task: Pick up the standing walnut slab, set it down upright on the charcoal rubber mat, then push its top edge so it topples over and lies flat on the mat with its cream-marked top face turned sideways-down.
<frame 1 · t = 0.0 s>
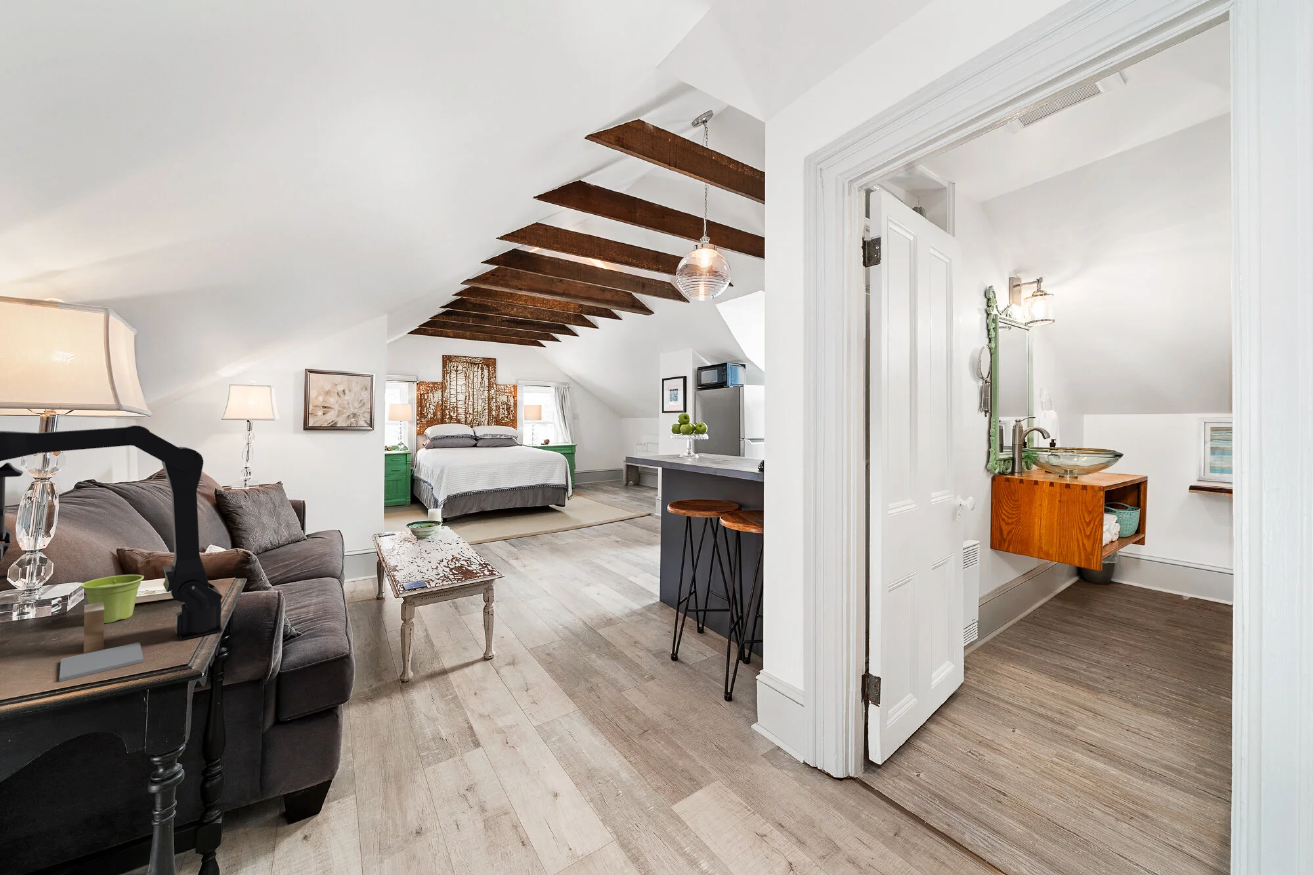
mat: (102, 661, 91), on the table
plant pot: (112, 619, 110), on the table
slab: (93, 646, 97), on the table
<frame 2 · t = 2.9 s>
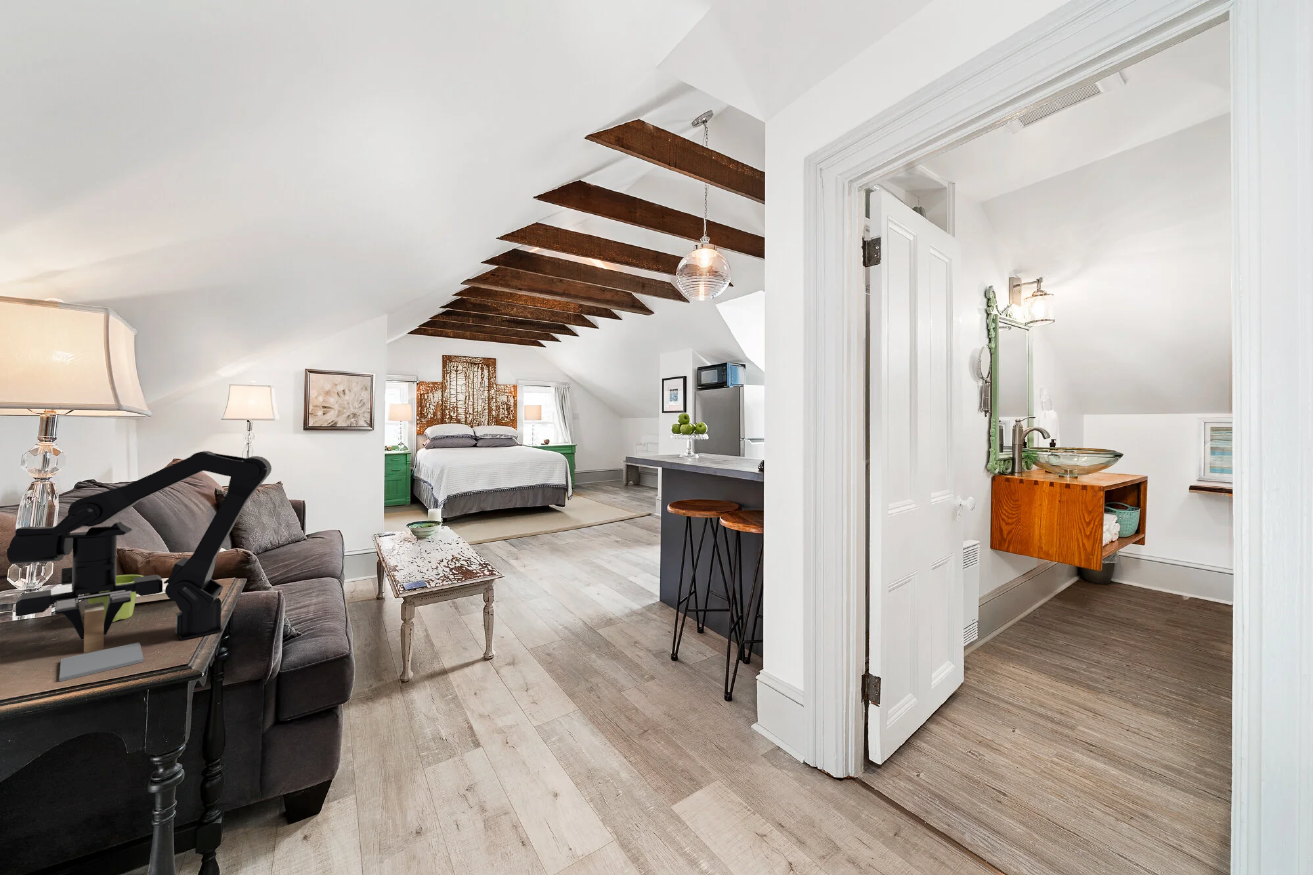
hand: (93, 636, 97), 2 cm above the table, fingers closed on slab, 2 cm apart
slab: (93, 646, 97), on the table, touching gripper
everything else where it was.
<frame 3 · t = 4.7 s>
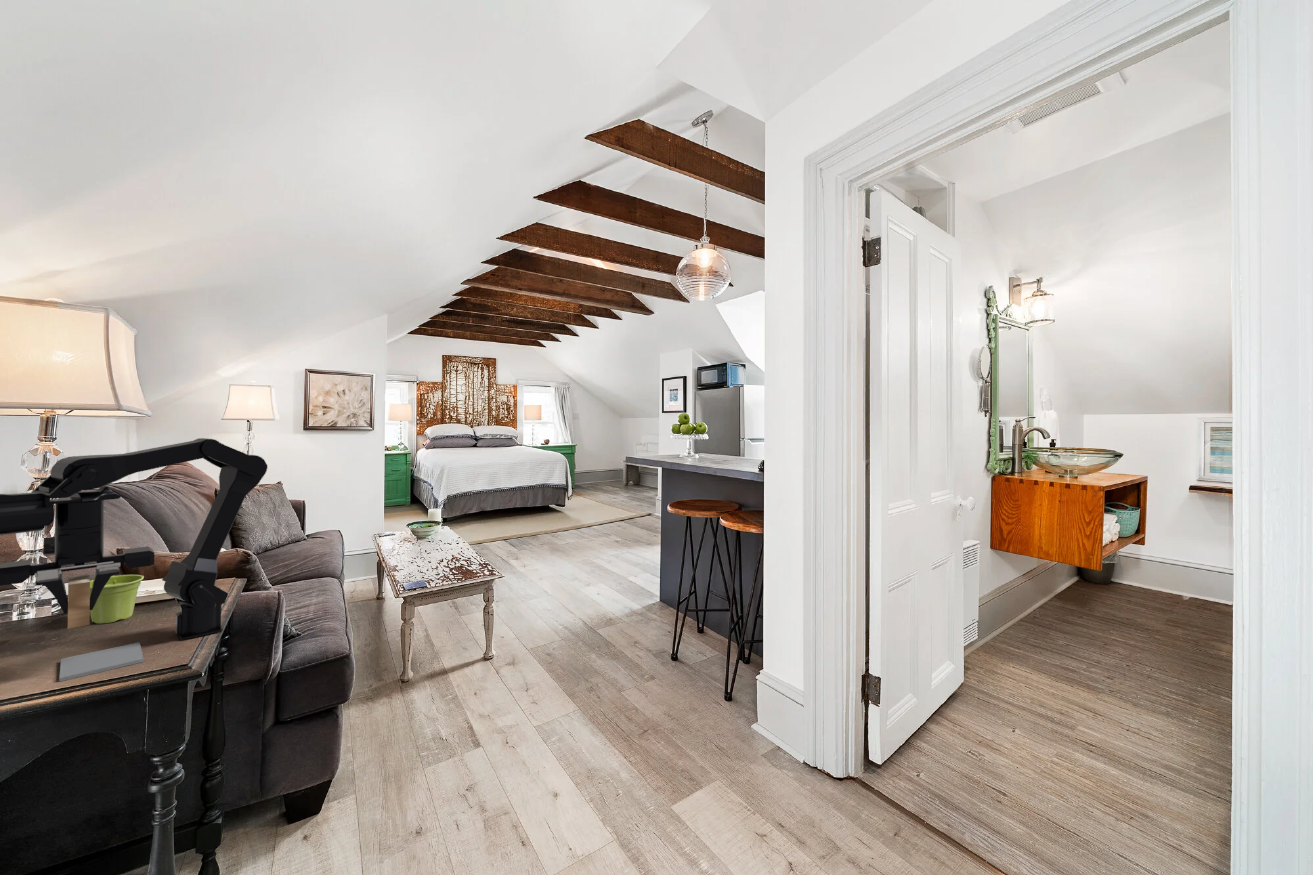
hand: (78, 611, 89), 10 cm above the table, fingers closed on slab, 2 cm apart
slab: (78, 622, 89), point 8 cm above the table, touching gripper
everything else where it was.
when the fingers open (3 cm above the table, at t = 6.5 s): slab stays where it is, resting on mat.
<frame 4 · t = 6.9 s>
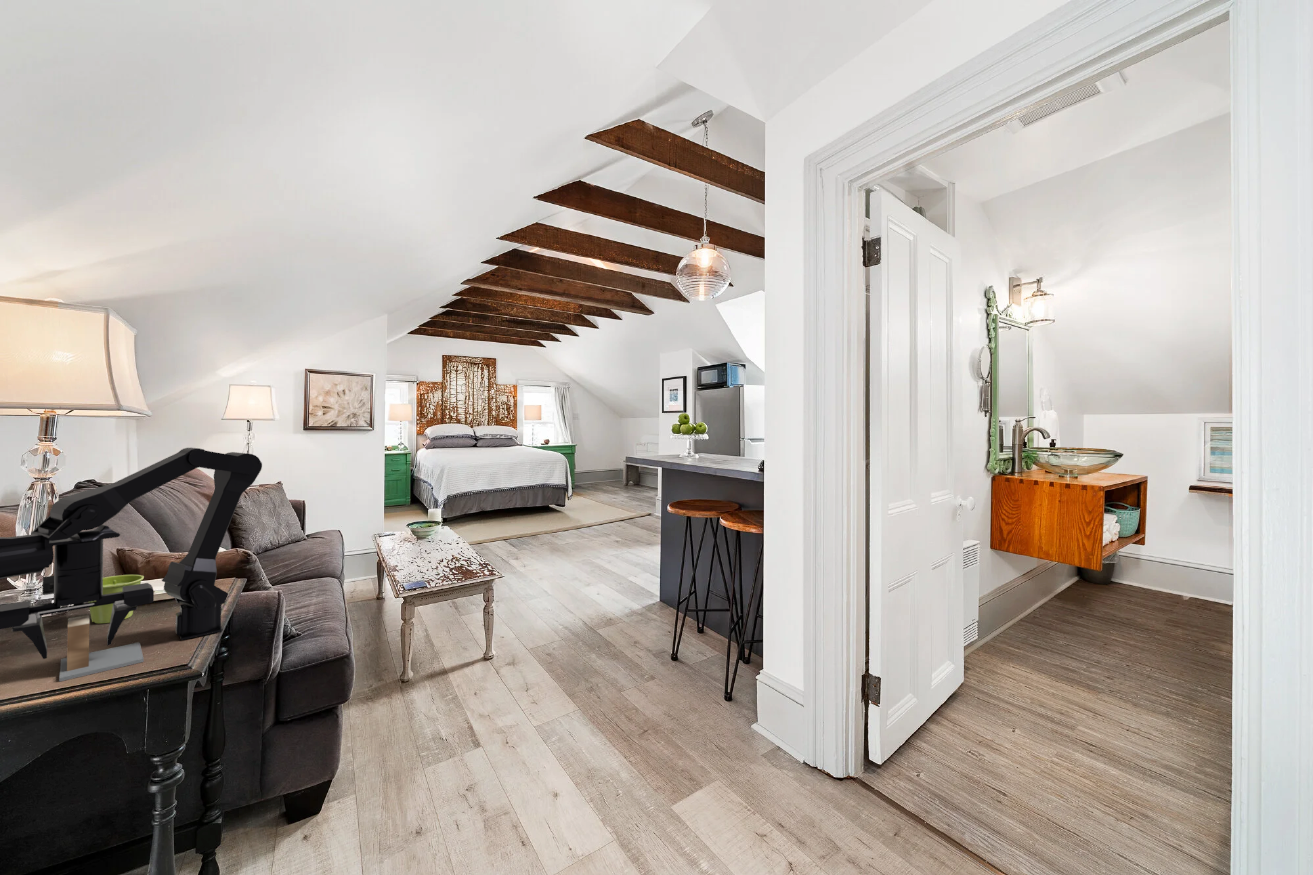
hand: (78, 651, 89), 3 cm above the table, fingers open, 7 cm apart
slab: (78, 664, 89), point 1 cm above the table, touching mat
everything else where it was.
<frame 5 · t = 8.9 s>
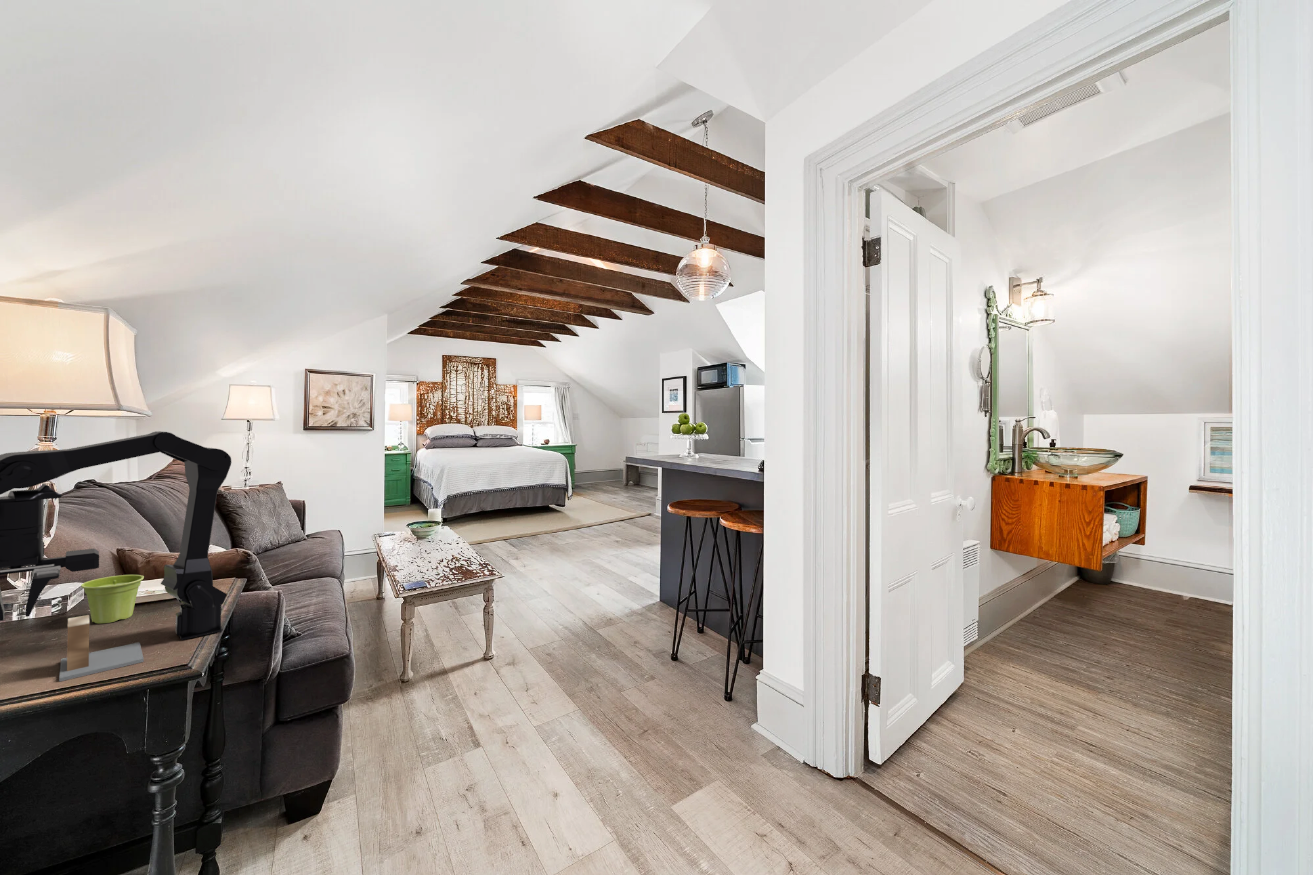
hand: (14, 617, 83), 11 cm above the table, fingers closed
nothing on the table moved.
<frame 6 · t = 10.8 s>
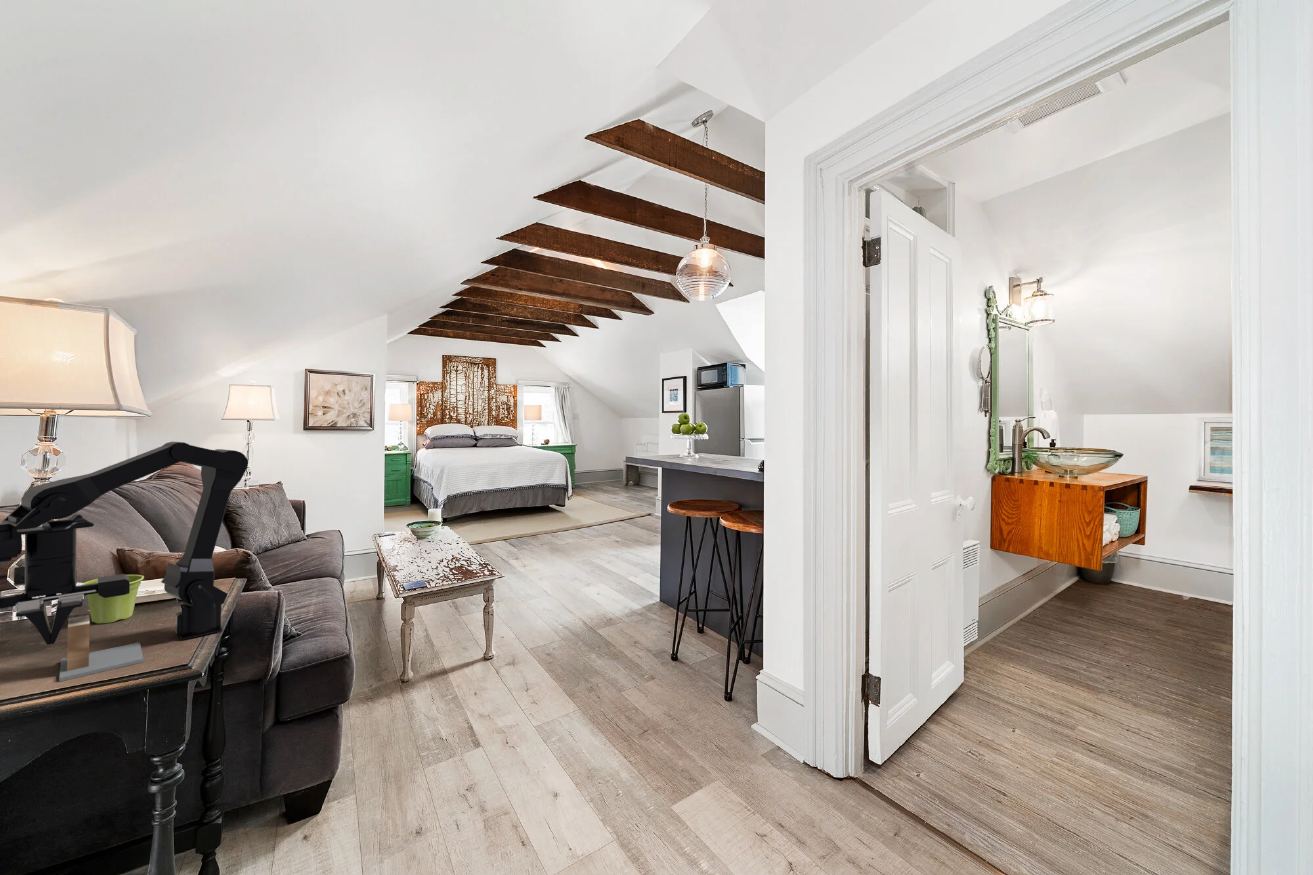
hand: (50, 643, 86), 5 cm above the table, fingers closed
slab: (78, 664, 89), point 1 cm above the table, touching gripper, mat
everything else where it was.
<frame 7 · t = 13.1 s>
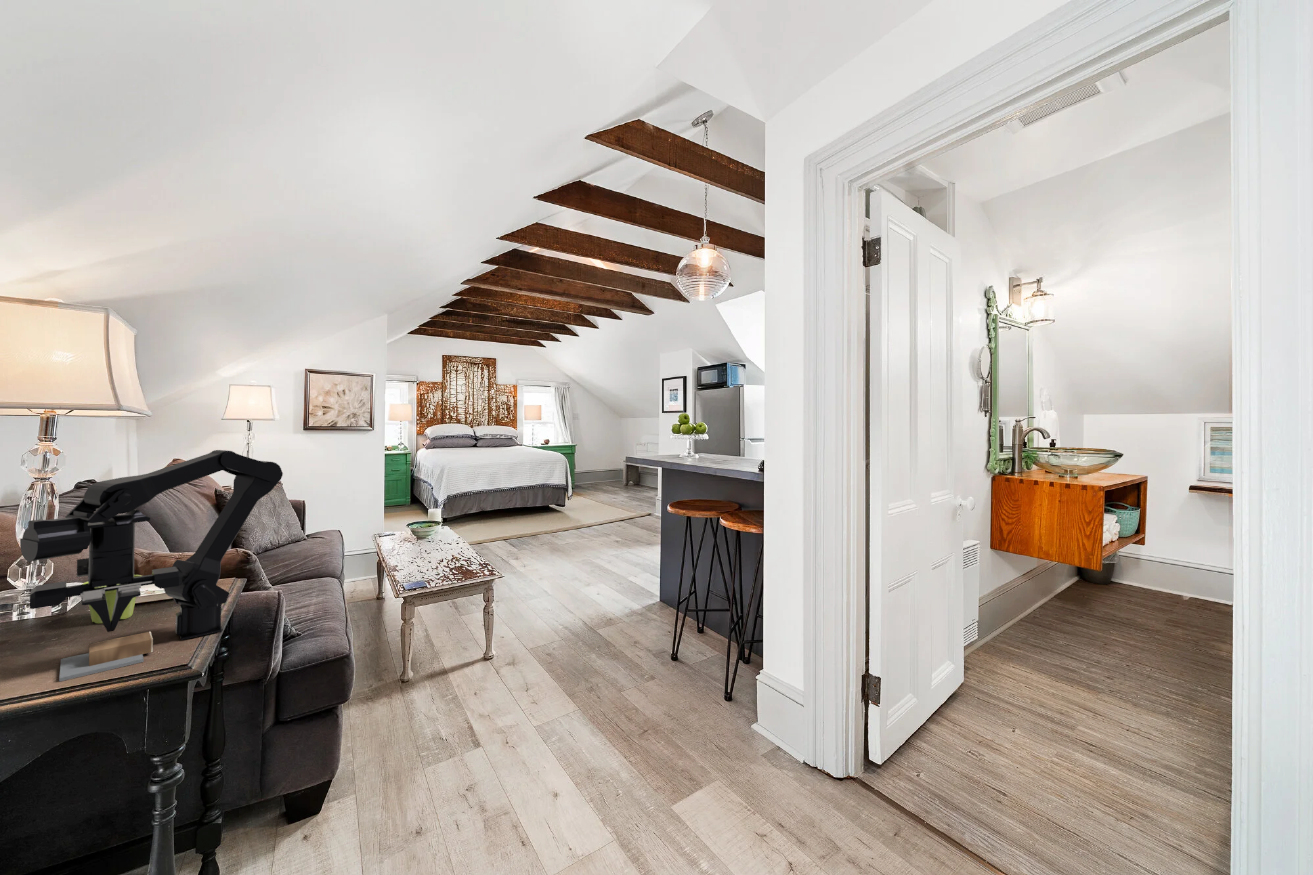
hand: (110, 631, 92), 6 cm above the table, fingers closed
slab: (89, 654, 90), point 2 cm above the table, tilted 90°, touching mat
everything else where it was.
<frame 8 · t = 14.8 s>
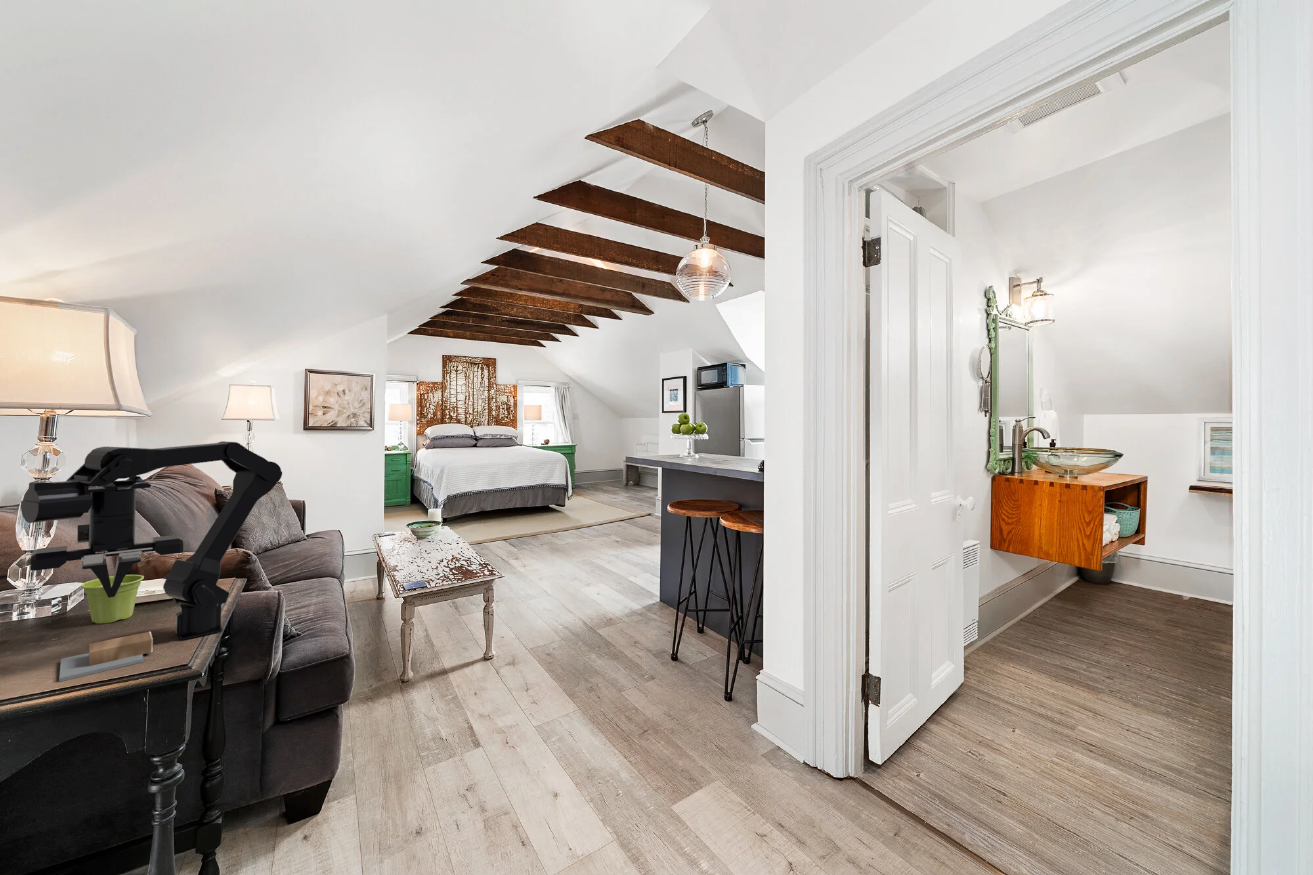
hand: (111, 596, 91), 12 cm above the table, fingers closed
nothing on the table moved.
at the end: slab tilted 90°; slab inside the target area (2.6 cm from its centre), point 1.8 cm above the table; the gripper is holding nothing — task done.
